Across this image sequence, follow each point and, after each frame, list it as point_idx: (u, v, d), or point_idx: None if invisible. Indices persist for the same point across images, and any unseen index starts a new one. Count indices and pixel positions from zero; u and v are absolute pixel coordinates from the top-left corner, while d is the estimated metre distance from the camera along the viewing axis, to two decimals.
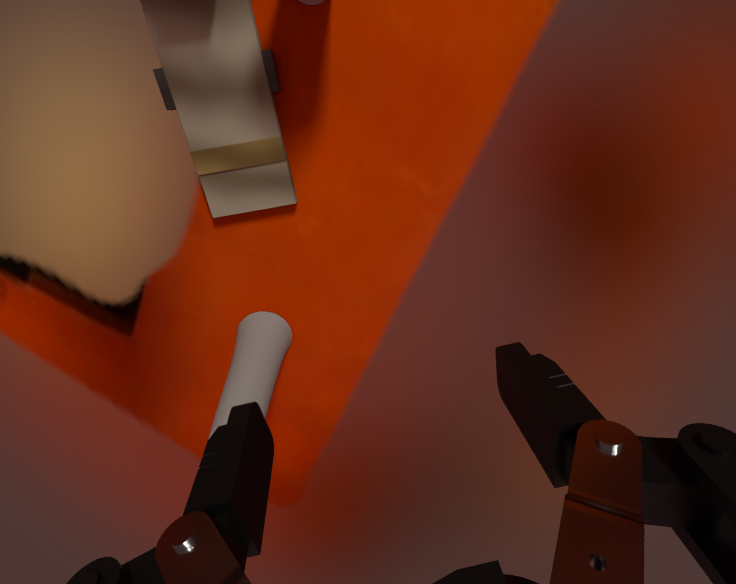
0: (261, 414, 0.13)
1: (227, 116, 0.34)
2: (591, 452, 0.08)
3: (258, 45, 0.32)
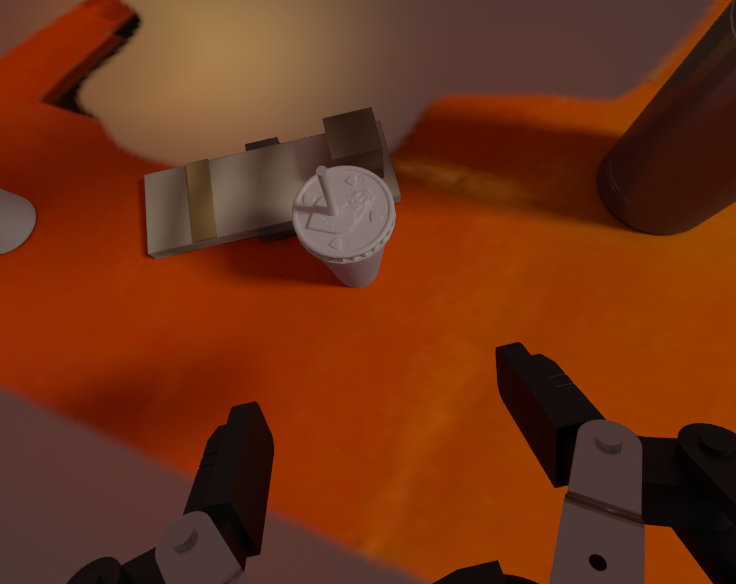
0: (261, 414, 0.13)
1: (237, 191, 0.34)
2: (591, 452, 0.08)
3: None
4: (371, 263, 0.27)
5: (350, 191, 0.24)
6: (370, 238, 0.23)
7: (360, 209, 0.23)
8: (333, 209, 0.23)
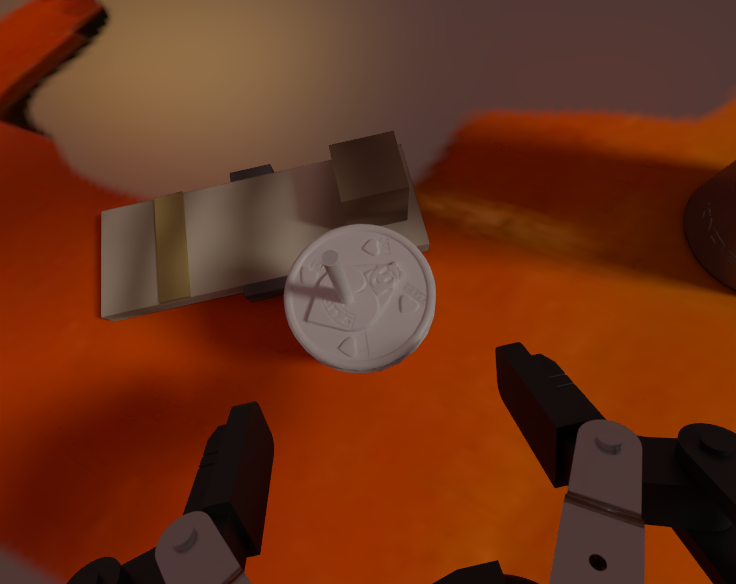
0: (261, 414, 0.13)
1: (218, 235, 0.27)
2: (591, 452, 0.08)
3: None
4: None
5: (369, 264, 0.16)
6: (400, 339, 0.15)
7: (385, 293, 0.16)
8: (346, 298, 0.15)
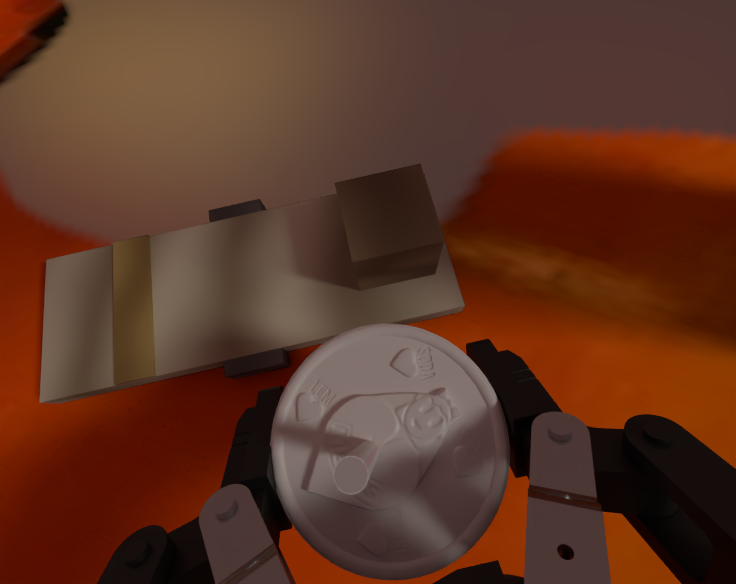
0: None
1: (193, 292, 0.21)
2: (546, 444, 0.09)
3: (289, 344, 0.20)
4: None
5: (403, 393, 0.11)
6: (457, 526, 0.10)
7: (430, 446, 0.10)
8: None
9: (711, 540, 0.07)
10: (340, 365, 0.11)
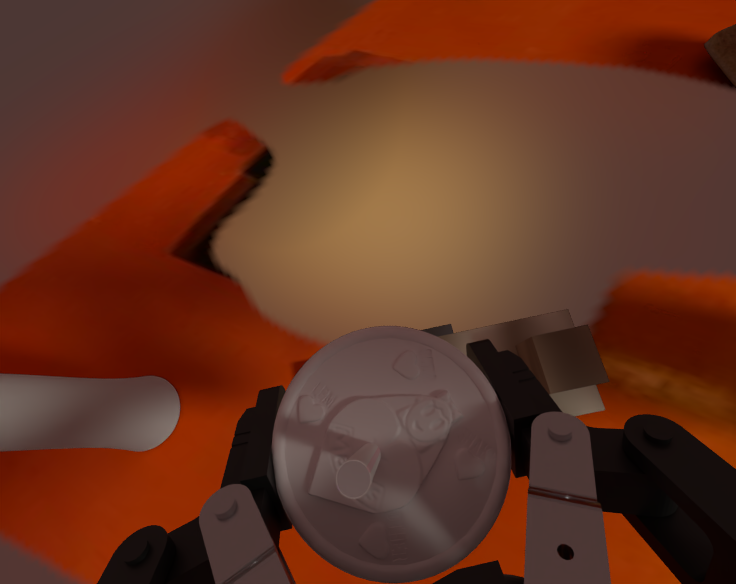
0: None
1: None
2: (546, 444, 0.09)
3: None
4: None
5: (404, 395, 0.11)
6: (459, 529, 0.10)
7: (432, 448, 0.10)
8: None
9: (711, 540, 0.07)
10: (341, 367, 0.11)
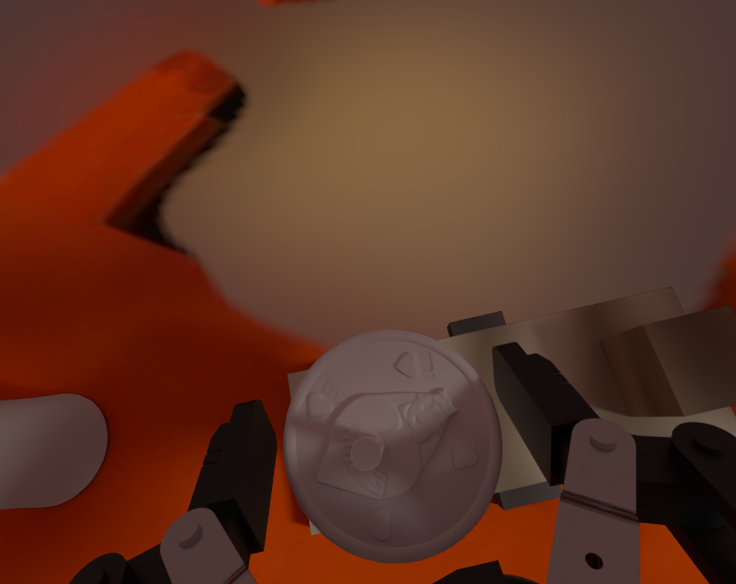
0: (264, 412, 0.13)
1: None
2: (586, 451, 0.08)
3: None
4: None
5: (405, 392, 0.12)
6: (455, 514, 0.11)
7: (430, 440, 0.11)
8: None
9: None
10: (348, 367, 0.12)
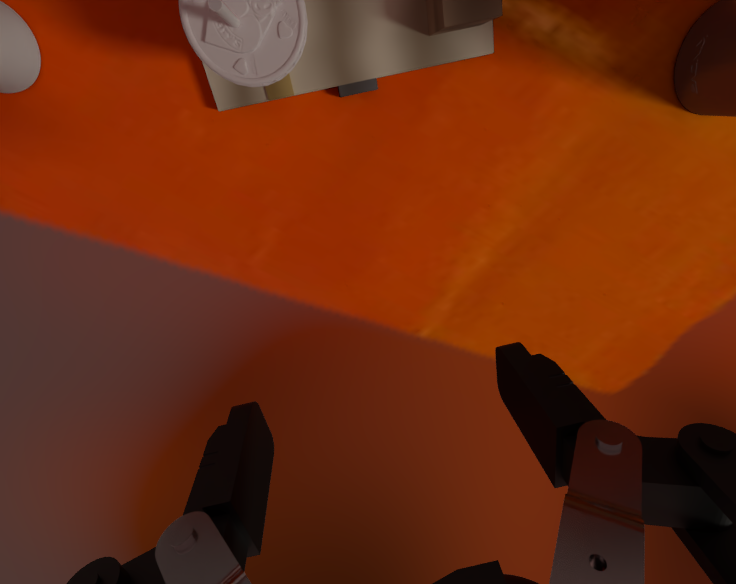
0: (261, 414, 0.13)
1: (309, 28, 0.29)
2: (591, 452, 0.08)
3: (380, 76, 0.31)
4: None
5: None
6: (280, 62, 0.21)
7: (265, 20, 0.20)
8: (233, 25, 0.19)
9: None
10: None
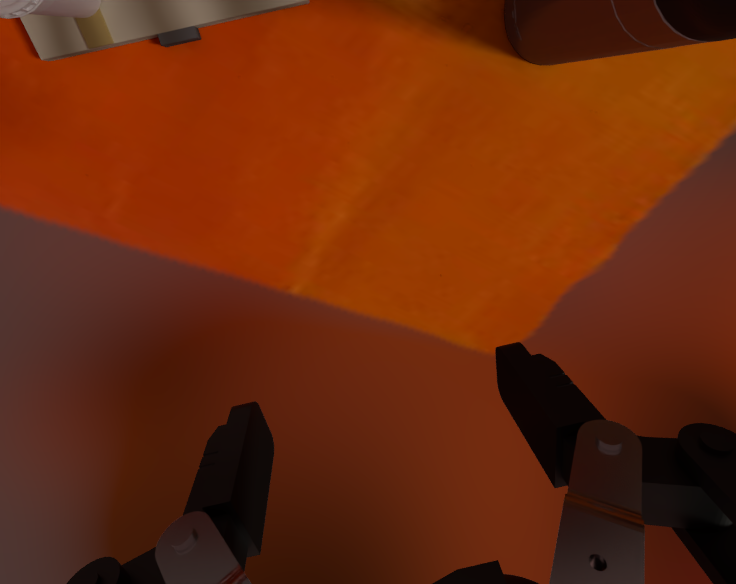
0: (261, 414, 0.13)
1: None
2: (591, 452, 0.08)
3: (198, 23, 0.32)
4: (58, 6, 0.25)
5: None
6: None
7: None
8: None
9: None
10: None
